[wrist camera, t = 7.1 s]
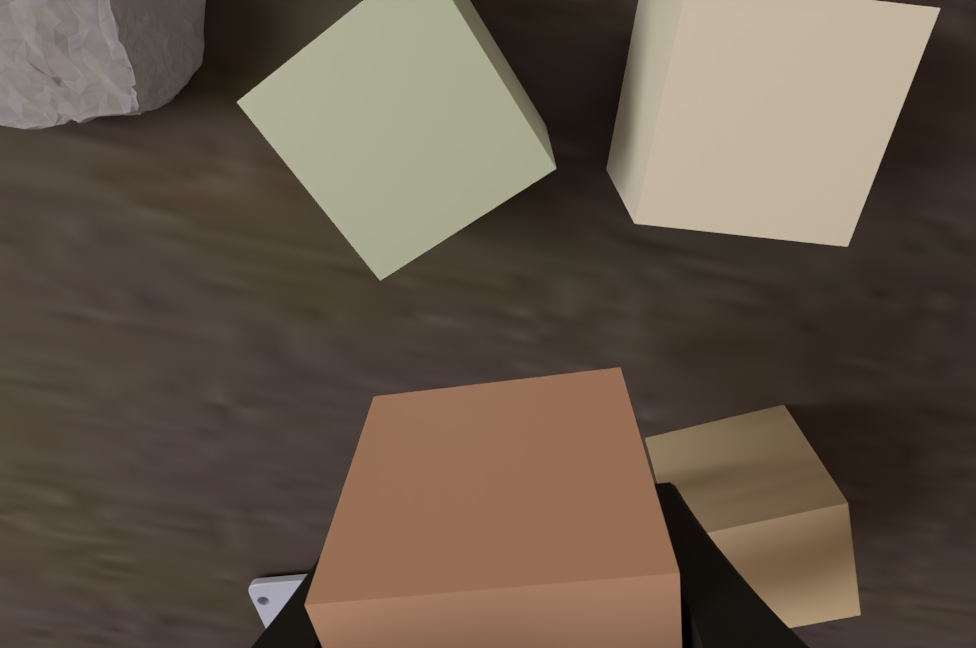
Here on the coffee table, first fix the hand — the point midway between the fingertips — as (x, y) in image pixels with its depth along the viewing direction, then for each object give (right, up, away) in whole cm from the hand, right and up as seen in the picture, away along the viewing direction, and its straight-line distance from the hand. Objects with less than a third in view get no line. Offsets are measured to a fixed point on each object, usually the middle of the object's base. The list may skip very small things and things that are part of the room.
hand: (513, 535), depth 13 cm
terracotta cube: (0, +1, +1) cm, 2 cm away
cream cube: (+6, +11, +5) cm, 13 cm away
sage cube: (-2, +11, +6) cm, 12 cm away
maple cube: (+8, -1, +12) cm, 15 cm away
